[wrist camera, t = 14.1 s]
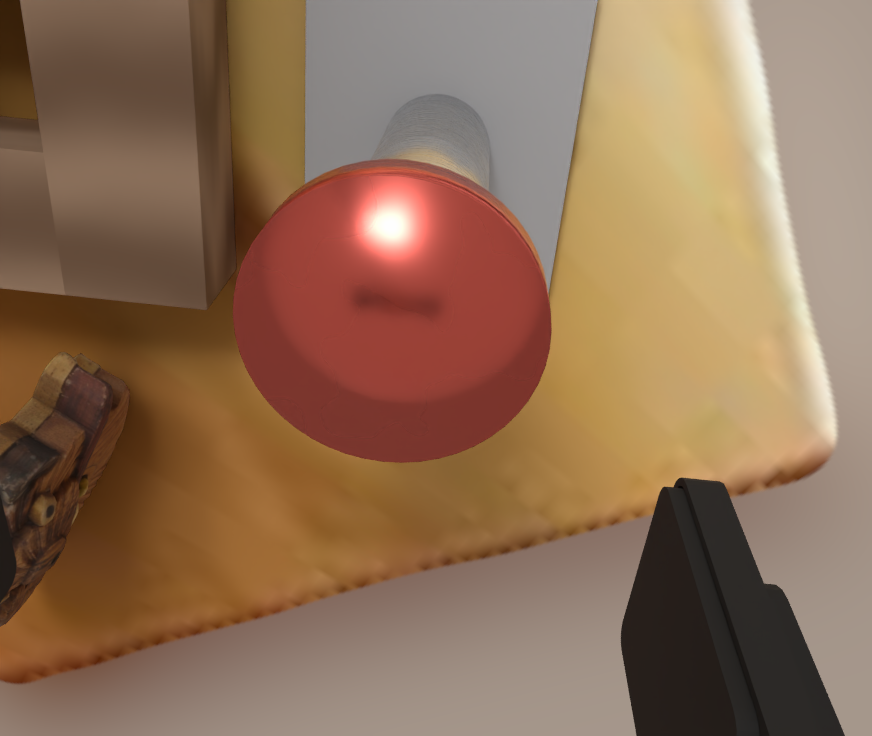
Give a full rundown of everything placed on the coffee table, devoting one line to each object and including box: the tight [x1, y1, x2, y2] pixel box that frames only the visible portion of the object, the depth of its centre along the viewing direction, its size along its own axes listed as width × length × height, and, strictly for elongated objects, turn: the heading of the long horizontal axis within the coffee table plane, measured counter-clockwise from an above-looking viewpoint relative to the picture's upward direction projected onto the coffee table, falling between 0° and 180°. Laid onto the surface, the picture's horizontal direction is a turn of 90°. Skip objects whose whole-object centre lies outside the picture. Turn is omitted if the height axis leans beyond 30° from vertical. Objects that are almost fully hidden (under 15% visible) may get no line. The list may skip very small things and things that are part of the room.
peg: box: [233, 94, 551, 463], centre depth 24 cm, size 7×7×15 cm
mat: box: [305, 0, 598, 294], centre depth 31 cm, size 12×10×1 cm
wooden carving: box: [0, 352, 130, 626], centre depth 35 cm, size 16×5×10 cm, turn 154°
